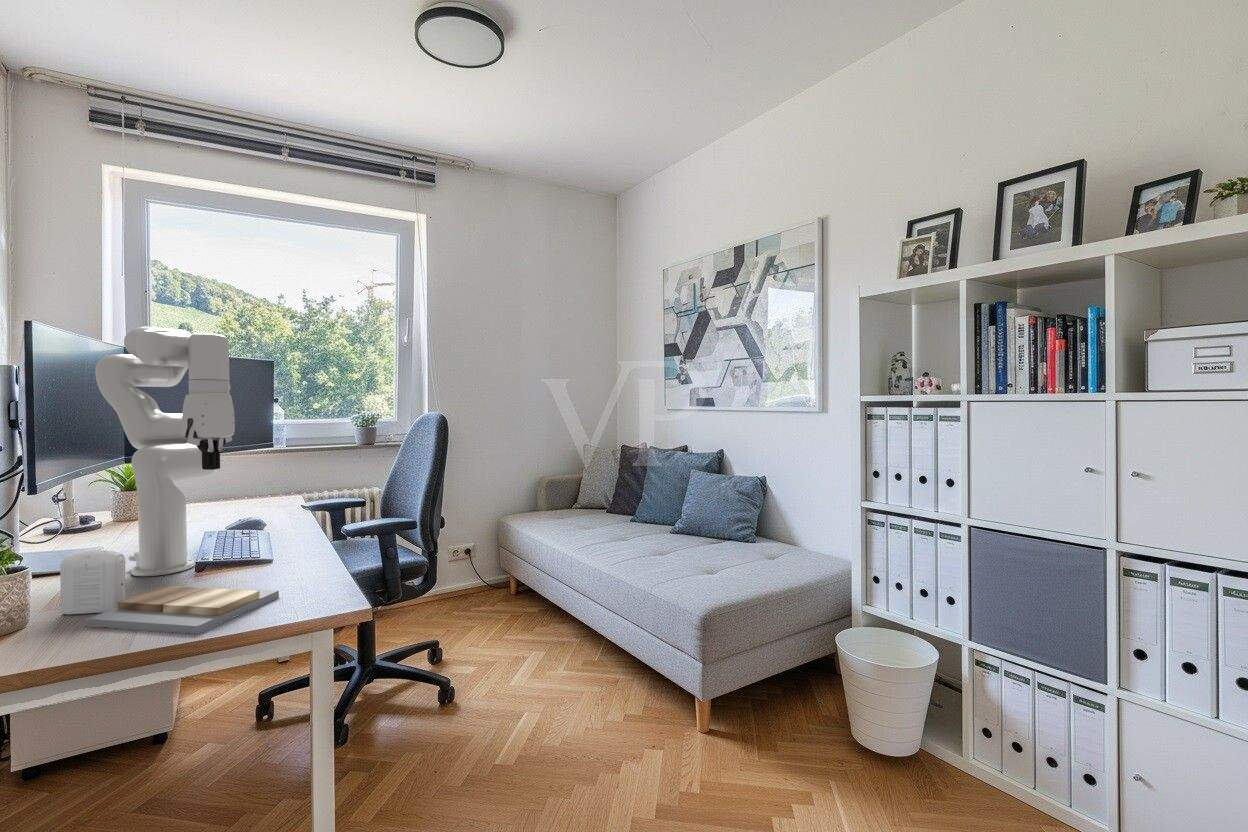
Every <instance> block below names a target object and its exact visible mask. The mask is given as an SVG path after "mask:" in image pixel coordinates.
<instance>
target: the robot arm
mask: <svg viewBox="0 0 1248 832" xmlns="http://www.w3.org/2000/svg"><path fill="white" fill-rule="evenodd" d="M123 346H124V347H125V350H126V351H127V353H128V354H127V353H121V354H111V355H110V354H109V355H106V356H103V357H101V358H100V359H99V360H98V361H97V363H96V365H95V368H94V369H95V380H96V384H97V386H98V389H99V391H100V393H101V395H102V396H103V398H104V400H106V402H107V403H108V404H109V405H110V406H111V407H112V409H113V410H114V411H115V412H116V414H117V416H118V419H119V421H120V424H121V425H122V428H123V431H124V433H125V436H126V438H127V440H128V441H129V443H130V444H131V446H132V447H133V448H135V449H137V450H136V451H135V452H134V453H133V455H132V457H131V469H132V472H133V477H134V482H135V488H136V494H137V495H136V496H137V517H138V518H137V520H138V521H137V522H138V523H137V524H138V525H137V526H138V528H137V530H138V551H136V552H134V553H133V555H130V556H129V557H128V561H129V562H135V563H136V564H135V566H134V567H132V568H131V570H130V574H131V575H132V576H135V577H155V576H164V575H169V574H170V575H171V574H175V573H179V572H183V571H187V570H190V569H191V568H193V567H194V566H196V562H195V561H196V560H195V559H193V558H188V534H187V532H188V530H187V528H188V527H187V499H186V496H185V494H184V493H183V491H182V490H180V489H179V488H178V486H176V484H175V483H174V482H179V481H180V482H181V481H189V480H199V479H205V478H206V479H207V478H209V477H212V476H213V475H215V473H216V472H217V470H220V469H221V452H222V451H223V449H224V446H225V444H227V443H230V442H232V441H233V437H232V436H234V434H235V431H236V430H235V429H236V420H235V419H236V417H235V409H234V404H233V398H232V395H231V394H230V393H231V392H230V390H231V388H232V386H231V384H230V351H229V350H230V347H229V346H230V343H229V339H228V338H227V336H225V335H223V334H220V333H219V334H217V333H212V332H211V333H209V332H208V333H207V332H200V333H199V332H198V333H192V334H191V333H190V332H189V331H187V330H184V329H176V328H165V327H153V326H140V327H135V328H132V329H131V330H130V331H128V332H127V333H126V335H125V336H124V338H123ZM187 371H188V394H185V397H184V401H183V405H182V406H183V407H182V413H181V412H179V413H177V412H176V413H172V412H171V413H170V412H163V411H161V409H160V406H159V405H158V403H157V401H156V399H154V398H153V397H152V396H150V395H149V394H147V392H144V390H141V389H139V388H137V387H142V388H144V387H147V388H148V387H150V388H153V387H154V388H158V387H159V388H171V387H174V386H177V385H178V384H180V382H181V381H182V379H183V377H184V376H185V374H186V372H187Z"/></svg>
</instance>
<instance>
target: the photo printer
mask: <svg viewBox="0 0 1248 832" xmlns="http://www.w3.org/2000/svg"><path fill="white" fill-rule="evenodd" d="M59 570H60V571H59V573H60V574H59V575H60V577H59V578H60V579H59V580H60V583H59V584H60V614H61V615H63V614H66V615H78V614H94V613H95V614H101V613H104V612H107V611H110V610H112V609H115V608H118V602H119V601H122V600H125V599H127V598H126V596H127V594H126V587H127V586H126V558H125V555H124V554H123V553H121V552H117V551H111V550H105V549H94V550H85V551H80V552H75V553H73V554H69V555H67V556H66V555H65V556H64V557H63V558H62V560H61V562H60V567H59Z"/></svg>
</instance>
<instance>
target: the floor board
mask: <svg viewBox="0 0 1248 832" xmlns="http://www.w3.org/2000/svg"><path fill="white" fill-rule="evenodd" d="M178 587H195V588H213V589H233V590H253V591H259V592H260V598H258V599H256V600H254V601H252V602H249V603H247V604H245V605H242V606H240V607H238V608H235V609H233V610H231V611H229V612H226V613H224V614H222V615H219V616H216V615H199V614H182V613H165V612H150V611H134V610H119V609H118V608H115V609H112V610H110V611H107V612H101V613H97V614H96V615H93V616H90V617H87V618H85V619H86V620H85V622H86V627H87V626H95V627H94V628H101V627H108V628H107V629H115V628H118V629H119V630H130V629H132V631H133V630H134V631H144V630H147V632H158V631H161V632H160V633H172V632H179V633H178V634H186V633H190V634H189V635H199V634H201V633H203V631H204V632H206V631H208V630H210V629H212V628H214V627H213V626H215V625H217V624H219V625H221V624H222V623H221V622H223V623H225V622H224V621H226V620H228V619H230V618H232V617H234V616H237V615H239V616H241V615H243V614H245V613H244V612H246V613H248V612H249V611H248V610H250V611H252V610H254V609H256V608H255V607H257V608H258V606H259V607H261V606H263V605H265V604H268V603H269V602H271V601H274V600H276V599H278V598H279V597H280V593H279V592H280V591H279V590H276V589H275V590H274V589H256V588H254V589H253V588H242V587H241V588H239V587H220V586H207V585H206V586H205V585H203V586H202V585H186V584H183V585H179V586H178ZM267 602H268V603H267ZM262 604H263V605H262ZM260 605H261V606H260ZM253 608H254V609H253ZM251 609H252V610H251ZM247 611H248V612H247ZM242 613H243V614H242ZM240 614H241V615H240ZM237 617H238V616H237ZM232 619H233V618H232ZM230 620H231V619H230ZM228 621H229V620H228ZM226 622H227V621H226ZM220 623H221V624H220ZM217 626H218V625H217ZM211 627H212V628H211ZM215 627H216V626H215ZM209 628H210V629H209ZM207 629H208V630H207ZM205 630H206V631H205ZM198 633H199V634H198Z"/></svg>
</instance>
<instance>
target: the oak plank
mask: <svg viewBox="0 0 1248 832" xmlns="http://www.w3.org/2000/svg"><path fill="white" fill-rule="evenodd" d="M258 598H260V592H259V591H253V590H233V589H213V588H206V589H204V590H201V591H198V592H196V593H193V594H190V595H188V596H185V597H182V598H179V599H177V600H174V601H171V602H169V603H166V604H163V612H165V613H182V614H199V615H216V616H219V615H222V614H224V613H226V612H229V611H231V610H233V609H235V608H238V607H240V606H242V605H245V604H247V603H249V602H252V601H254V600H256V599H258Z"/></svg>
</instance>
